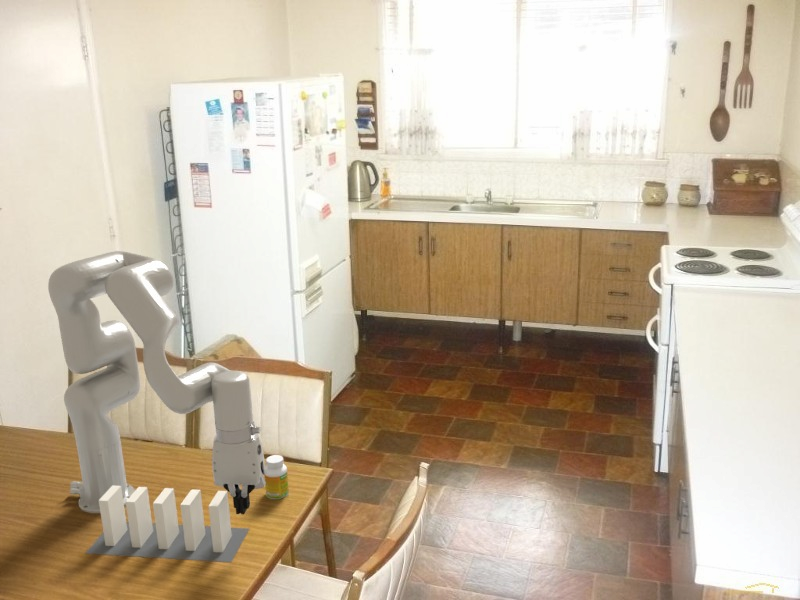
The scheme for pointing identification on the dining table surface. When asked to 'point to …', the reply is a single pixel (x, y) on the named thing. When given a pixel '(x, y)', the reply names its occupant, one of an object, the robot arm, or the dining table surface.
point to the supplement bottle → (276, 478)
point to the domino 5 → (220, 521)
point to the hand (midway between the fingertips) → (242, 510)
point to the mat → (172, 546)
